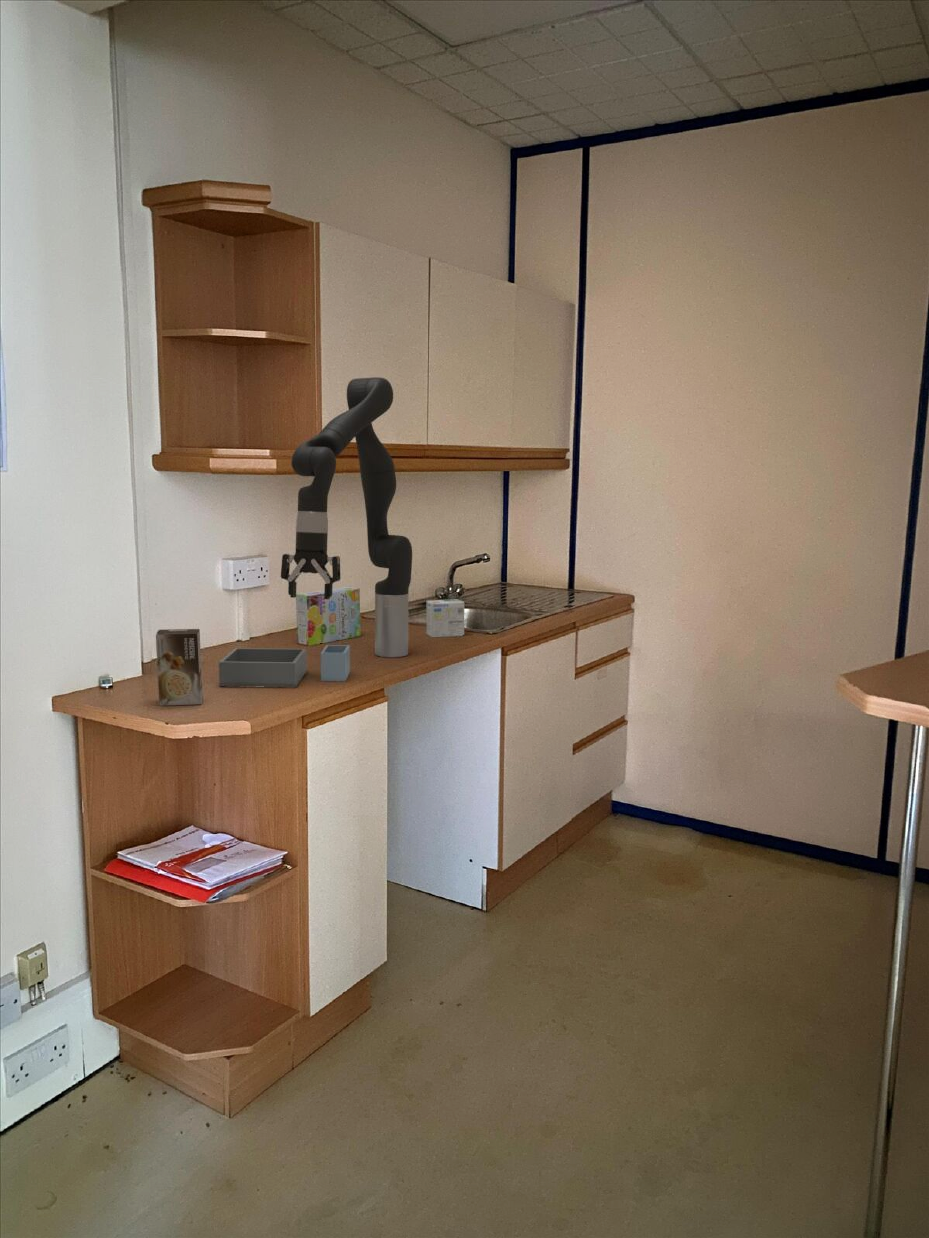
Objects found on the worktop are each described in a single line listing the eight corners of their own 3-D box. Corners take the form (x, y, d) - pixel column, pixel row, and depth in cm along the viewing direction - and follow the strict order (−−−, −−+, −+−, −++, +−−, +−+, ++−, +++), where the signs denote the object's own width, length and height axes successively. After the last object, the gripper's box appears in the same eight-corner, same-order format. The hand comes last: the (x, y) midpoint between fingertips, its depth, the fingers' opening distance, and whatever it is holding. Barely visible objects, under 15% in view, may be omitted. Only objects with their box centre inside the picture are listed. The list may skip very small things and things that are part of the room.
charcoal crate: (235, 671, 248) (235, 648, 247) (306, 672, 248) (306, 649, 247) (219, 686, 231) (218, 662, 230) (295, 687, 232) (295, 663, 231)
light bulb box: (457, 632, 307) (458, 598, 305) (465, 636, 301) (465, 601, 299) (425, 634, 303) (425, 599, 302) (432, 638, 297) (432, 603, 295)
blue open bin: (326, 671, 249) (326, 645, 248) (350, 672, 249) (349, 645, 248) (320, 680, 239) (320, 652, 238) (345, 681, 239) (345, 653, 238)
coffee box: (203, 697, 221) (201, 628, 218) (201, 705, 215) (198, 633, 212) (161, 699, 219) (159, 628, 217) (157, 706, 213) (155, 634, 211)
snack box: (348, 634, 301) (348, 586, 299) (361, 636, 298) (361, 587, 295) (295, 644, 285) (295, 593, 282) (308, 646, 281) (308, 594, 279)
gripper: (345, 532, 236) (343, 599, 238) (289, 529, 239) (287, 595, 240) (335, 532, 229) (333, 601, 230) (277, 529, 231) (276, 597, 233)
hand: (310, 598), depth 235 cm, fingers open, 8 cm apart
